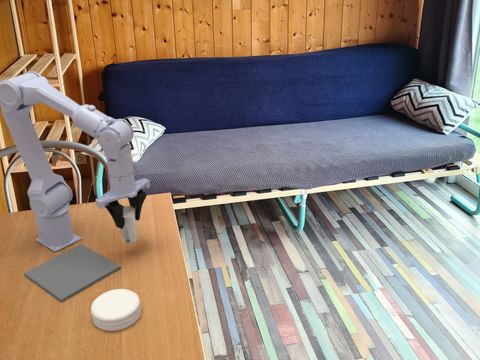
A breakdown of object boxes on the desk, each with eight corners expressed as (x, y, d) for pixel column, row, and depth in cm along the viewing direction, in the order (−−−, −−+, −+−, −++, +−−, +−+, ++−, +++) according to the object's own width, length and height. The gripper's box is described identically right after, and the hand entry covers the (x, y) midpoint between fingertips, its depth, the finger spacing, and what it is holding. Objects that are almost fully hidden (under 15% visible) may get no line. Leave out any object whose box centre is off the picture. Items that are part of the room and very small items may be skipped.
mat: (24, 275, 120) (23, 272, 120) (82, 246, 131) (81, 244, 131) (61, 302, 111) (61, 299, 110) (120, 268, 121) (120, 266, 121)
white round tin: (121, 294, 113) (119, 282, 111) (151, 313, 107) (149, 299, 105) (83, 318, 106) (80, 305, 104) (113, 339, 100) (110, 325, 98)
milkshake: (139, 245, 123) (133, 210, 119) (118, 244, 124) (111, 209, 120) (145, 235, 127) (139, 200, 123) (125, 234, 128) (119, 200, 124)
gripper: (105, 188, 110) (114, 240, 116) (156, 166, 120) (161, 216, 126) (86, 179, 115) (95, 231, 120) (136, 159, 125) (142, 208, 130)
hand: (128, 223), depth 124 cm, fingers closed on milkshake, 4 cm apart
